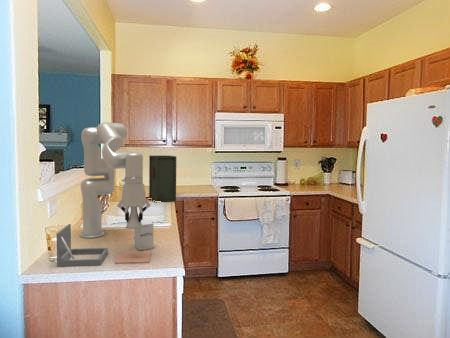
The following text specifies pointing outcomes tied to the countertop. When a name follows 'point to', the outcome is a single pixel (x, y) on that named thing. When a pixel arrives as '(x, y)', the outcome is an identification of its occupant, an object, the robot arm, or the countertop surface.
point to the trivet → (133, 257)
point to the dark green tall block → (162, 178)
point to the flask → (133, 220)
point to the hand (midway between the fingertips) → (134, 221)
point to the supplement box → (144, 236)
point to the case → (75, 251)
